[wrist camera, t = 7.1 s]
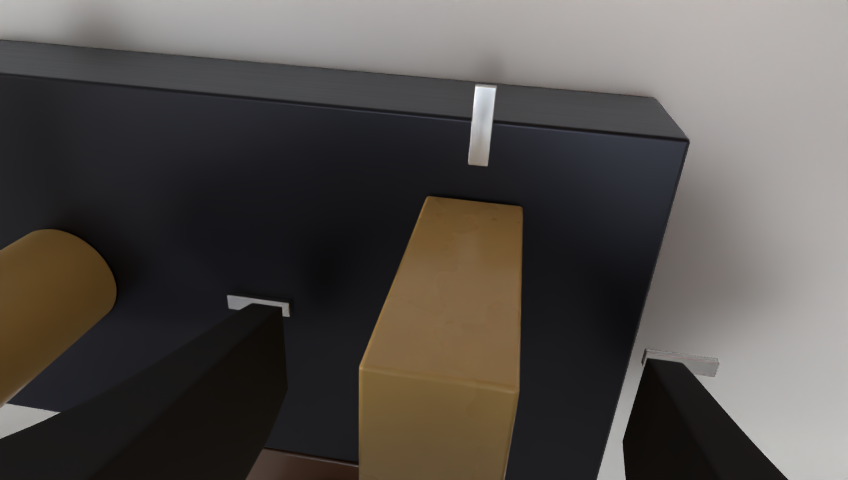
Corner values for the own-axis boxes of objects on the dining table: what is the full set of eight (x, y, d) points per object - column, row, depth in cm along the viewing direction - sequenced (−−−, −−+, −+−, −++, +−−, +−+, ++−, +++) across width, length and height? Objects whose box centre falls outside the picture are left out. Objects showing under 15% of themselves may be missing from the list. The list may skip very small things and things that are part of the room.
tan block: (426, 193, 11) (352, 380, 6) (523, 205, 11) (520, 405, 6) (412, 429, 14) (353, 678, 9) (488, 442, 13) (468, 703, 9)
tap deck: (69, 350, 19) (-11, 422, 16) (-28, 10, 14) (-167, 28, 11) (634, 438, 17) (656, 537, 14) (745, 75, 12) (811, 115, 9)
